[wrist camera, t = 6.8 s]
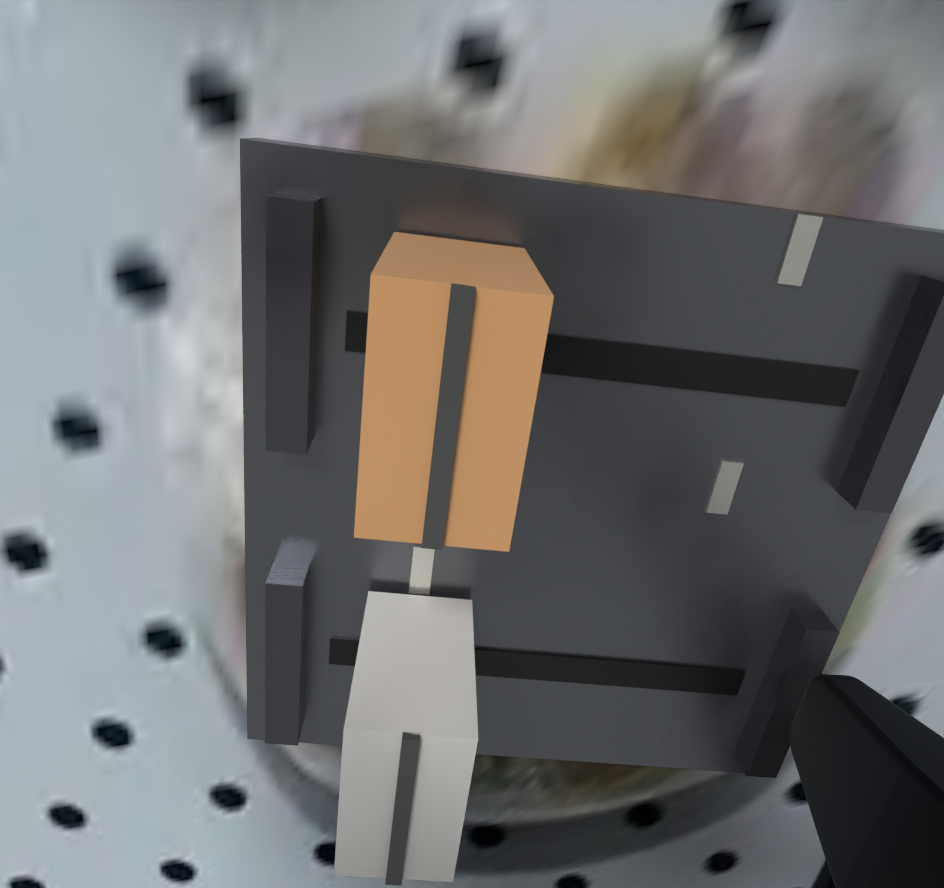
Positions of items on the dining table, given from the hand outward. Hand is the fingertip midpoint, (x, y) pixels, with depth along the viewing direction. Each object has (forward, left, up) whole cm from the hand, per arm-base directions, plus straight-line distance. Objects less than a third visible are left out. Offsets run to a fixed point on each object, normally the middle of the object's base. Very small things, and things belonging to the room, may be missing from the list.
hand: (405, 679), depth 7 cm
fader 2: (-9, 0, -11) cm, 14 cm away
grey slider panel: (-4, -4, -12) cm, 14 cm away
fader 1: (+1, 0, -11) cm, 11 cm away
